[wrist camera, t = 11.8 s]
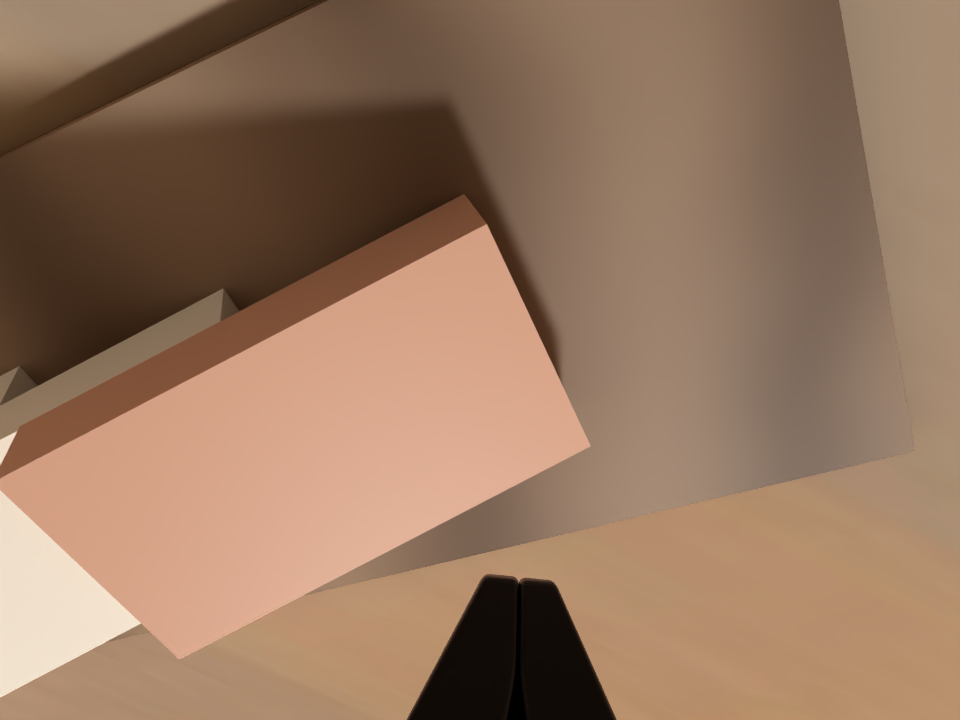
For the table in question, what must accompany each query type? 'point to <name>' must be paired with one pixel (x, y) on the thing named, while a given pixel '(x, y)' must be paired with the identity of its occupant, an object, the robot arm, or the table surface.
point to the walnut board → (511, 225)
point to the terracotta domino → (301, 433)
